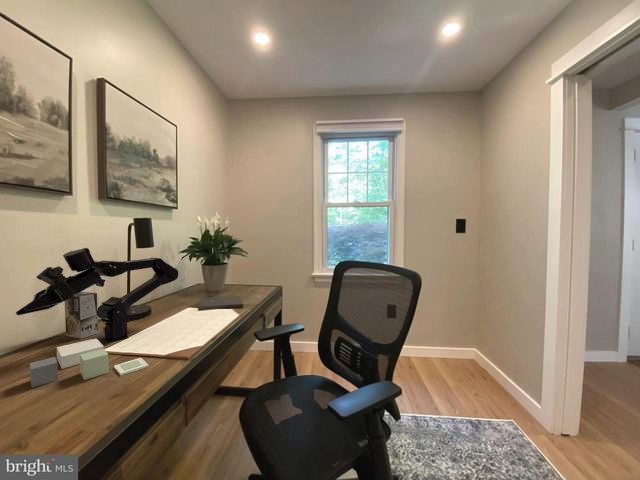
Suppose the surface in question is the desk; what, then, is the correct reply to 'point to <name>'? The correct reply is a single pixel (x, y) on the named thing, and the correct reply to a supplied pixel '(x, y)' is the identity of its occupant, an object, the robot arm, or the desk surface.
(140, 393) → the desk surface
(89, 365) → the sage cube
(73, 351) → the plinth
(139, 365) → the card
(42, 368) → the slate cube
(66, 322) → the coffee box
